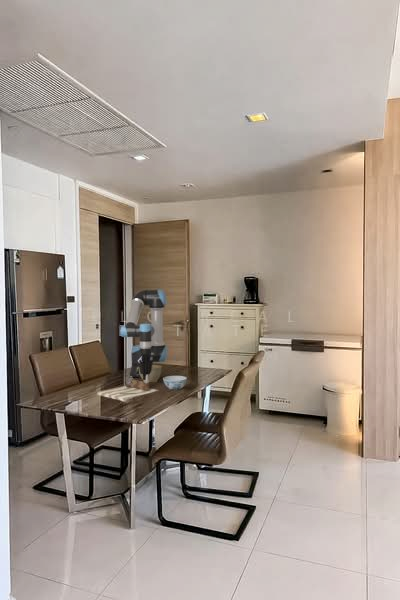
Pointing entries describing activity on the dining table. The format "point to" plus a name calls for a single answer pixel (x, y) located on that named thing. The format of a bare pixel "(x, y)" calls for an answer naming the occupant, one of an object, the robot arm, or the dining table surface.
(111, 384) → the dining table surface
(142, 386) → the gauge needle
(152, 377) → the planter bowl
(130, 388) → the gauge board
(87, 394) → the dining table surface
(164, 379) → the chinaware
